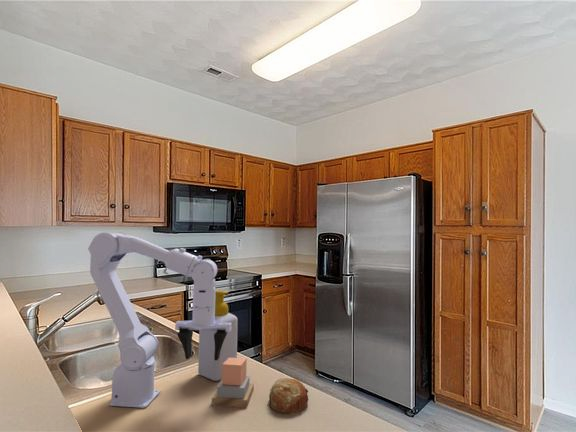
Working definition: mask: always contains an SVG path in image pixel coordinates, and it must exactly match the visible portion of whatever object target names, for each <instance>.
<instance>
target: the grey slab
mask: <svg viewBox="0 0 576 432" xmlns="http://www.w3.org/2000/svg"><path fill="white" fill-rule="evenodd" d="M249 383H250V376H249V375H246V379H245V380H244V382H243V383H242V385H241V386H238V385H226V384H222V379H221V380H219V383H218V384H217V386H216V391H217V397H224V398H244V397H245V395H246V393H247V390H248V388H249Z"/></svg>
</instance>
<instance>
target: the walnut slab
mask: <svg viewBox="0 0 576 432" xmlns="http://www.w3.org/2000/svg"><path fill="white" fill-rule="evenodd" d="M254 388H255V385H254V383H250V382H249V388H248V390H247V393H246V395H245V397H244V398H224V397H217V390H216V391H215V393H214V394H213V396H212V397H211V406H212V407H213V406H217V407H230V406H235V408H248V406H249V404H250V403H249V402H250V401H251V398H252V395H253V393H254Z"/></svg>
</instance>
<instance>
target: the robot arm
mask: <svg viewBox="0 0 576 432" xmlns="http://www.w3.org/2000/svg"><path fill="white" fill-rule="evenodd" d="M87 249H88V252H89V254H90V263H89V265H90V266H89V267H90V268H89V272H90V276H91V278H92V279H93V281H94V284H95V287H96V288H97V290H98V292H99V294H100V297H101V299H102V300H103V302H104V305H105V307H106V309H107V311H108V313H109V315H110V317H111V319H112V321H113V324H114V326H115V327H116V330H117V332H118V334H119V338H118V342H117V347H118V349H119V353H120V354H119V356H120V358H119V359H120V362H121V363H119V364H118V365H117V366H116V368H115V369H114V371H113V375H112V378H111V379H112V380H111V381H112V382H111V401H110V403H109V407H123V408H124V407H125V408H142V409H143V408H144V409H145V408H147V407H148V406H149V404H151V403H152V402H153V400H155V399H156V397H158V396H159V395H160V394H161V391H160V390H156V389H155V363H156V362H155V361H156V360H155V357H154V356H155V355H154V354H156V352H158V348H159V340H158V338H157V337H156V336H155V335H154V334H153V333H152V332H151V331H150V330H149V328H148V326H146V325H145V324H143V323H141V321H140V319H139V317H138V315H137V312H136V310H135V309H134V306H133V304H132V302H131V300H130V297H129V296H128V294H127V291H126V290H125V288H124V285H123V284H122V281H121V280H120V277H119V275H118V273H117V271H116V270H117V269H118V266H119V264H120V263H121V261H122V259H124V257H126V255H127V254H129V253H131V254H133V253H136V254H139V255H142V256H145V257H147V258H151V259H154V260H157V261H160V262H163V263H164V265H165V268H166V269H168V270H170V271H172V272H176V273H177V274H180V275H183V276H186V277H189V278H192V280H193V289H192V291H193V292H192V319H191V320H190V319H189V320H177V321H176V322H175V326H174V327H175V328H174V329H175V331H178V332H177V337H178V339H179V341H180V343H181V345H182V348H183V351H184V356H185V360H189V359H190V358H191V357H192V351H193V350H192V346H193V345H192V343H193V334H194V331H199V330H207V331H217V332H216V333H215V334H214V341H215V355H214V359H215V360H218V359H219V357H220V351H221V348H222V344H223V342H224V339H225V337H226V335H227V333H228V332H230V331H231V323H228V322H220V321H215V291H217V290H216V276H217V275H218V265H217V264H216V262H214V261H213V260H211V258H204V259H203V256H202V255H194V254H192V253H190V252H187V249H186V248H183V247H180V248H174V249H171V250H168V249H167V248H164V247H161V246H160V245H157V244H154V243H152V242H150V241H148V240H145V239H143V238H141V237H138V236H136V235H132V234H126V233H124V232H115V233H114V232H113V233H111V232H100V233H99V234H96V236H94V237H93V239H92V241H91V242H90V244H89V245H88V248H87Z"/></svg>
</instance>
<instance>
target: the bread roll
mask: <svg viewBox="0 0 576 432" xmlns="http://www.w3.org/2000/svg"><path fill="white" fill-rule="evenodd" d="M269 390H270V391H269V395H268V396H269V397H268V398H269V399H268V403H267V404H268V405H269V406H270V407H271V408H272V409H274V410H275V412H277V413H280V414H287V415H288V414H294V413H297V412H299V411H302V410H303V409H305V407H306V406H307V404H308V402H309V395H308V393H309V390H308V389H307V387H305V385H304V384H303V383H302V382H301V381H300V380H298V379H296V378H289V377H282V378H279V379H277V380H276V381H275V382H274V383H273V385H272V386H271V387H270V389H269Z"/></svg>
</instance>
